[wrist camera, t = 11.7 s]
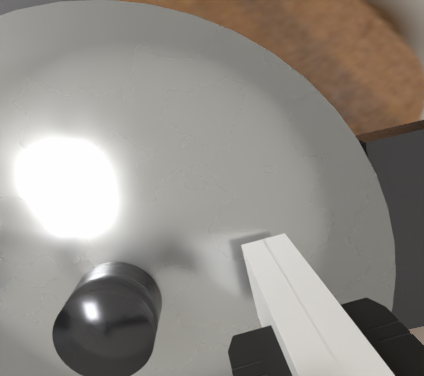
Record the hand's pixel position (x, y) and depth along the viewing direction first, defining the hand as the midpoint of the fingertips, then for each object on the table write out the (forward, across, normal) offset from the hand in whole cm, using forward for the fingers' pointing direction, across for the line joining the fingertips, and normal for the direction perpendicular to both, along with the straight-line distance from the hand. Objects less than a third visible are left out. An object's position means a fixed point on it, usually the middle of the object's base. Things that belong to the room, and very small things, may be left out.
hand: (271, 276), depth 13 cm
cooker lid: (+2, -4, 0) cm, 5 cm away
